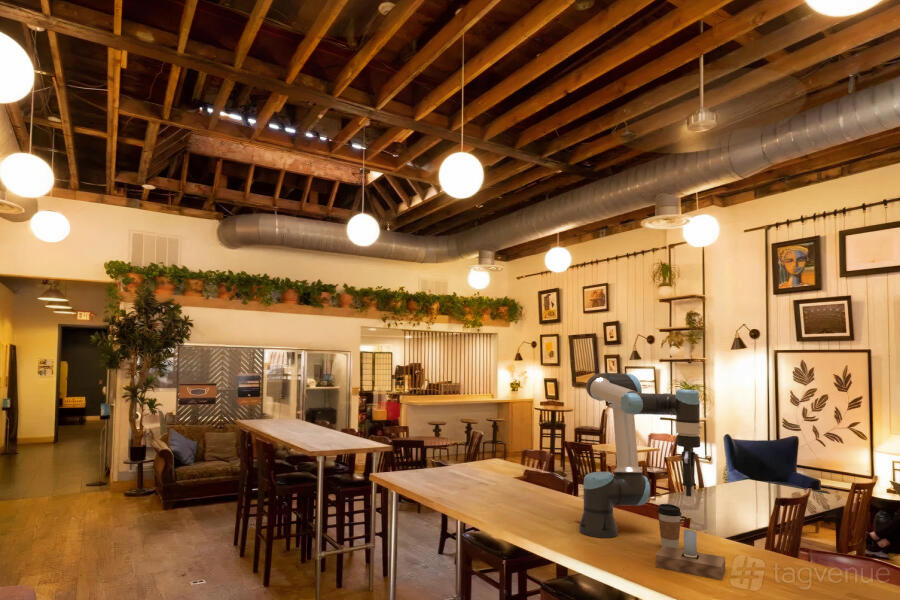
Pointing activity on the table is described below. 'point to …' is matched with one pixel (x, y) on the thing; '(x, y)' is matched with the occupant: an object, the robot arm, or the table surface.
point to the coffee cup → (669, 525)
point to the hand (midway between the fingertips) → (689, 505)
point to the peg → (690, 544)
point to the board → (691, 563)
